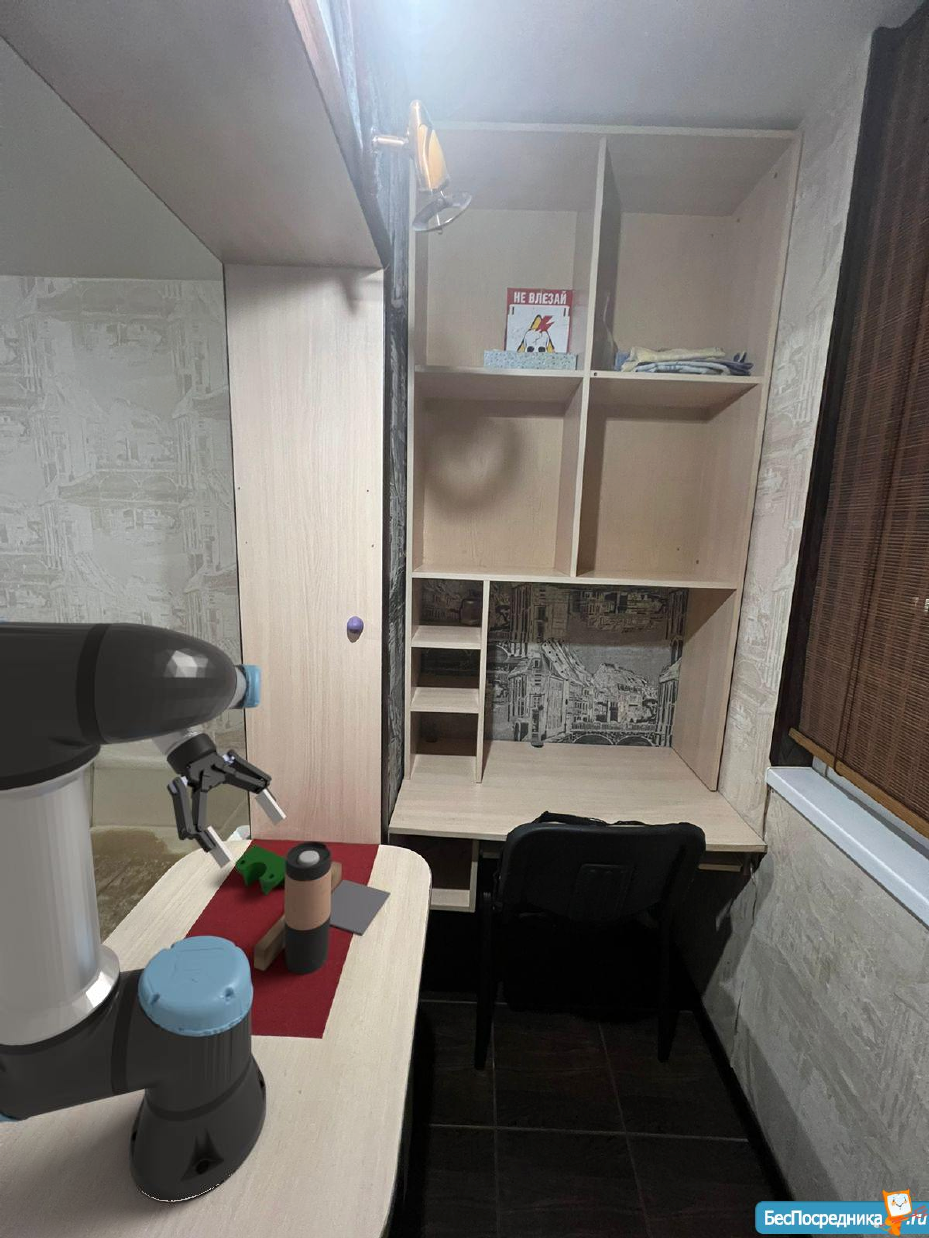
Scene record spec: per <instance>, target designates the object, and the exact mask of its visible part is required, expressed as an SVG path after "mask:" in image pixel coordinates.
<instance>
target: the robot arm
mask: <svg viewBox="0 0 929 1238" xmlns="http://www.w3.org/2000/svg"><path fill="white" fill-rule="evenodd" d="M261 689H262V673H261V668H260V667H259V666H258V665H255V664H245V663H240V664H234V662H233V660H232V659H231V658H230V656H229V655H228V654H227V653H226V652H225V651H224V650H222V649H221V648H219V647H218V646H216V645H215V644H213V643H211V642H209V641H206V640H203V639H202V638H199V637H196V636H193V635H190V634H187V633H183V632H180V631H176V630H173V629H169V628H166V627H160V626H156V625H149V624H142V623H136V622H135V623H133V622H107V623H105V622H97V623H96V622H95V623H93V622H45V621H43V622H42V621H39V622H38V621H36V622H35V621H10V620H8V619H7V620H6V619H0V1123H6V1122H7V1123H8V1122H9V1123H10V1122H11V1123H18V1122H22V1121H27V1120H28V1119H30V1118H32V1117H37V1116H40V1115H45V1114H49V1113H53V1112H57V1111H61V1110H64V1109H69V1108H73V1107H77V1106H81V1105H85V1104H91V1103H93V1102H98V1101H101V1100H105V1099H109V1098H114V1097H117V1096H121V1095H126V1094H131V1093H135V1092H138V1091H144V1094H143V1097H142V1100H141V1102H140V1105H139V1107H138V1109H137V1114H136V1116H135V1119H134V1122H133V1125H132V1128H131V1132H130V1138H129V1148H128V1149H129V1150H128V1152H129V1168H130V1173H131V1177H132V1179H134V1180H133V1182H134V1181H135V1182H134V1184H135V1183H136V1184H135V1186H136V1185H137V1186H138V1187H139V1188H140V1189H141V1191H143V1192H144V1193H146V1194H147V1195H149V1196H150V1197H154V1198H156V1199H159V1200H168V1201H171V1200H173V1201H174V1200H181V1199H185V1198H188V1197H192V1196H195V1195H199V1194H201V1193H203V1192H205V1191H207V1190H209V1189H210V1188H211V1189H212V1188H213V1187H215V1186H216V1185H217V1184H220V1183H221V1182H222V1181H223V1180H225V1179H226V1178H227V1179H229V1178H230V1177H229V1175H231V1174H232V1175H234V1173H235V1172H236V1171H237V1170H238V1169H239V1168H240V1167H241V1166H242V1165H243V1163H244V1162H245V1161H246V1160H247V1158H248V1157H249V1155H250V1154H251V1153H252V1151H253V1149H254V1147H255V1146H256V1144H257V1142H258V1141H259V1138H260V1136H261V1133H262V1131H263V1127H264V1124H265V1120H266V1113H267V1085H266V1082H265V1078H264V1075H263V1072H262V1071H261V1069H260V1067H259V1064H258V1062H257V1060H256V1059H255V1057H254V1055H253V1052H252V1004H253V996H254V986H253V983H252V978H251V976H252V975H251V967H250V962H249V959H248V957H247V956H246V954H245V952H244V951H243V950H242V949H241V948H240V947H238V946H236V945H235V943H234V942H232V941H231V940H228V939H226V938H223V937H219V936H213V935H197V936H192V937H190V936H189V937H186V938H183V939H180V940H178V941H175V942H173V943H172V944H171V946H170V948H166V947H165V948H162V949H161V950H159V951H158V952H157V953H156V954H155V955H154V956H152V958H151V959H150V960H149V961H148V962H147V964H146V965H145V967H143V968H137V969H132V970H126V971H121V967H120V960H119V958H118V956H117V954H116V952H115V951H114V950H113V949H112V948H111V947H109V946H107V945H104V944H102V943H101V932H100V930H101V929H100V920H99V919H100V918H99V911H98V901H97V900H98V899H97V889H96V880H95V879H96V878H95V877H96V876H95V868H94V855H93V847H92V836H91V826H90V814H89V805H88V804H89V803H88V793H87V783H86V781H87V780H86V773H85V771H86V770H85V769H87V768H88V767H89V766H90V765H91V764H92V763H93V762H94V761H95V760H96V759H97V758H98V757H99V755H100V752H101V751H102V749H101V748H102V746H103V745H112V744H114V745H115V744H116V745H117V744H127V743H128V744H129V743H135V742H136V743H137V742H139V741H146V740H151V741H152V742H153V744H154V745H155V746H156V747H157V749H158V750H159V752H160V753H161V755H162V756H167V757H166V762H167V763H168V764H169V766H170V767H171V769H172V770H173V771H174V773H175V774H176V775H180V776H176V777H174V778H173V780H172V781H171V782H169V783H168V784H167V785H166V788H167V789H166V790H167V791H168V793H169V794H170V796H171V799H172V804H173V812H174V818H175V825H176V830H177V831H176V832H177V837H178V839H179V840H180V841H185V840H190V841H193V840H195V841H196V842H197V844H198V845H199V846H200V848H201V849H202V851H203V852H205V854H208V853H209V854H210V855H211V857H212V858H213V859H214V861H215V862H216V864H218V866H219V868H220V869H222V868H224V867H225V866H226V865H227V864H229V863H230V862H231V861H232V860H234V858H235V857H234V856H233V854H232V853H231V852H230V851H229V849H228V847H227V846H226V845H225V844H224V842H223V841H222V839H221V838H220V837H219V836H218V834H217V832H216V831H215V829H214V828H213V827H212V825H209V826H207V828H206V818H207V802H208V801H207V799H208V792H210V791H211V790H212V789H214V788H217V787H219V786H220V785H221V784H222V785H231V786H233V787H236V788H238V789H241V790H244V791H247V792H250V793H253V794H256V796H254V800H255V801H256V802H257V803H258V805H259V806H260V808H261V809H262V810H263V812H264V813H265V815H266V816H267V817H268V818H269V820H270V821H271V822H272V824H273V825H274V826H276V825H278V824H280V823H281V822H282V821H283V820H284V819H285V818H286V817H287V815H286V814H285V813H284V812H283V810H282V809H281V807H279V805H278V804H277V799H276V798H275V796H274V795H273V793H272V792H271V790H270V789H269V786H270V785H271V783H270V782H271V781H272V780H273V779H272V776H271V775H270V774H268V773H266V772H265V771H263V770H262V769H260V768H258V767H257V766H256V765H253V764H252V763H251V762H249V761H247V760H246V759H244V758H243V757H241V756H240V754H238V752H237V751H235V749H232V748H230V749H229V750H228V751H227V752H226V753H225V754H223V755H222V756H221V755H220V754H219V753H218V752H217V751H218V750H217V749H218V748H217V745H216V744H215V742H214V740H212V738H211V737H210V735H209V734H208V733H207V732H204V727H203V726H202V724H205V723H208V722H210V721H212V720H214V719H216V718H217V717H219V716H220V715H221V714H222V713H224V711H225V710H244V709H254V708H256V707H258V706H259V705H260V703H261V693H262V691H261ZM101 745H102V746H101ZM187 787H190V788H191V795H190V798H189V794H188V793H189V792H188V789H187ZM190 800H192V801H191V803H190ZM243 1161H244V1162H243ZM238 1167H239V1168H238ZM234 1171H235V1172H234ZM233 1172H234V1173H233ZM232 1175H231V1176H232ZM228 1177H229V1178H228ZM227 1179H226V1180H227ZM226 1180H225V1181H226ZM222 1183H223V1182H222ZM222 1183H221V1184H222ZM221 1184H220V1185H221ZM137 1186H136V1187H137ZM138 1187H137V1188H138ZM139 1188H138V1189H139ZM215 1188H216V1187H215ZM212 1190H213V1189H212ZM141 1191H140V1192H141ZM144 1193H143V1194H144Z"/></svg>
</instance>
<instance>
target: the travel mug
mask: <svg viewBox="0 0 929 1238" xmlns="http://www.w3.org/2000/svg"><path fill="white" fill-rule="evenodd" d="M286 852H287V853H286V854H285V858H286V860H285V886H284V912H283V913H284V914H283V915H284V924H285V947H284V952H285V953H284V954H285V956H284V957H285V964H286V967H287V968H288V970H289V971H291V973H294V974H297V975H307V974H312V973H314V972H316V971H318V970H319V969H320V968H322V967H323V966H324V964H325V963H326V962H327V959H328V956H329V945H330V944H329V943H330V941H329V940H330V930H331V929H330V928H331V925H330V913H331V893H332V892H331V863H332V853H333V852H332V851H330V849H329V848H328V846H327V844H326V843H324V842H320V841H314V840H312V841H305V842H300V843H298V844H296V845H294V846H292V847H291V848H289V850H288V851H286Z"/></svg>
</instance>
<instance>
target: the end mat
mask: <svg viewBox="0 0 929 1238" xmlns="http://www.w3.org/2000/svg"><path fill="white" fill-rule="evenodd" d="M389 895H391V892H389V891H385V890H382V889H379V888H375V887H372V886H368V885H365V884H362V883H359V882H353V881H350V880H347V879H341V881H340V883H339V884H338V885H337V886H336V887H335V888H334V890H333V891H332V892H331V913H330V927H331V926H332V927H335V928H337V927H338V929H341V930H343V931H347V932H350V933H353V934H356V935H358V936H359V935H360V936H363V935H364V934H365V932H366V931H367V929H368V928H369V926H370V925H371V923H372V922H373V921H374V919H375V918H376V916H377V915H378V913H379V911H380V910H381V908H383V906H384V904H385V903H386V901H387V900H388V898H389V897H390V896H389Z"/></svg>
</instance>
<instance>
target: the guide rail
mask: <svg viewBox="0 0 929 1238" xmlns="http://www.w3.org/2000/svg"><path fill="white" fill-rule="evenodd" d="M342 865H343V864H342V863H341V862H338V861H335V860H334V861H331V893H332V892H333V891H334V890H335V889H336V888H337V886H338V885H339V884H340V883H341V882H342V871H343V870H342V869H343V868H342ZM253 948H254V949H253V958H254V959H253V960H254V961H253V962H254V964H253V966H254V967H253V968H254V969H258V970H260V971H263V972H265V971H266V970H267V968H268V967H269V966H270V965H271V964H272V963H273V961H274V960H275V959H276V958H277V957H278V955H279V954H280V953H281V952H282V951H283V949H285V924H284V914H282V916H281V917H280V918H279V920H277V922H275V924H274V925H273V926H272V927H271V928H270V929H269V930H268V931H267V932H266V934H265V935H264V936H263V937H261V939H260V940H259V941H258V942H257V943H256V944H255V945H254V947H253Z"/></svg>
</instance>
